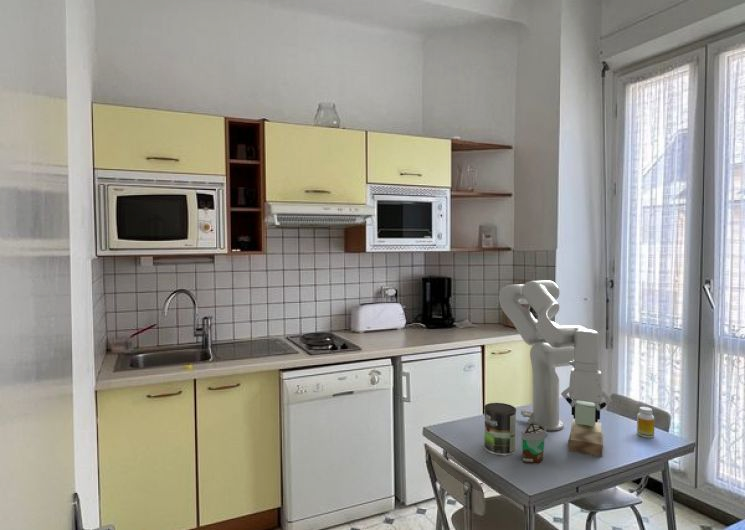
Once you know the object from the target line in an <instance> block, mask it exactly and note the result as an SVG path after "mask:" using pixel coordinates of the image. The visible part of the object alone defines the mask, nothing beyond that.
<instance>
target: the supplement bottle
mask: <svg viewBox="0 0 745 530" xmlns="http://www.w3.org/2000/svg"><path fill="white" fill-rule="evenodd" d="M638 409H639V412H638V413H637V415H636V433H637V436H640V437H643V438H646V439H647V438H649V439H650V438H652V439H653V438H654V437H655V416H654V415H653V409H652V408H651V407H647V406H640V407H639V408H638Z"/></svg>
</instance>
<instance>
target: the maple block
mask: <svg viewBox="0 0 745 530" xmlns="http://www.w3.org/2000/svg"><path fill="white" fill-rule="evenodd" d="M602 423H603V422H596V423H595V426H589V425H583V424H577V423H575V419H574V418H572V422H571V427H570V432H571V440H576V441H582V442H588V443H594V444H600V445H601V434H602Z"/></svg>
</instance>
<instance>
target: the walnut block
mask: <svg viewBox="0 0 745 530" xmlns="http://www.w3.org/2000/svg"><path fill="white" fill-rule="evenodd" d="M567 440H568V441H567V442H568V449H567V450H568V452H574V453H578V454H579V453H580V454H584V455H588V456H589V455H590V456H595V457H603V450H604V449H603V448H604V434H602V433H601V445H600V444H594V443H588V442H582V441H576V440H571V431H570V434H569V436H568V439H567Z"/></svg>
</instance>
